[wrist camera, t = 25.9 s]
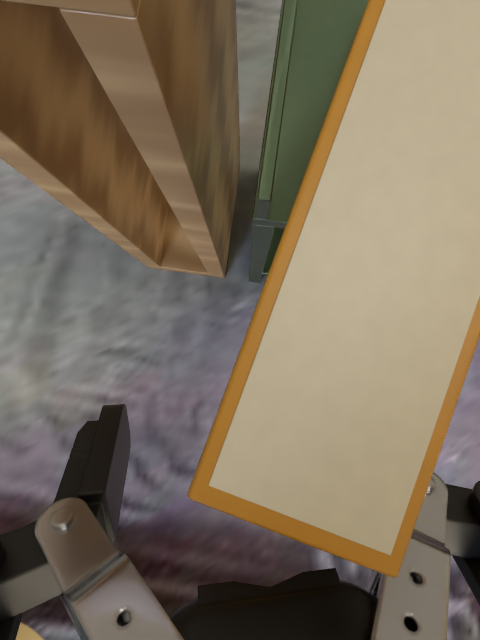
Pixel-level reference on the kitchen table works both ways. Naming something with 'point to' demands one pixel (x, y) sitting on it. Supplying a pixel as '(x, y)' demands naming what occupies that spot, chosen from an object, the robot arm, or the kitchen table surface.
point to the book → (364, 301)
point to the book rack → (297, 110)
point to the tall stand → (128, 119)
